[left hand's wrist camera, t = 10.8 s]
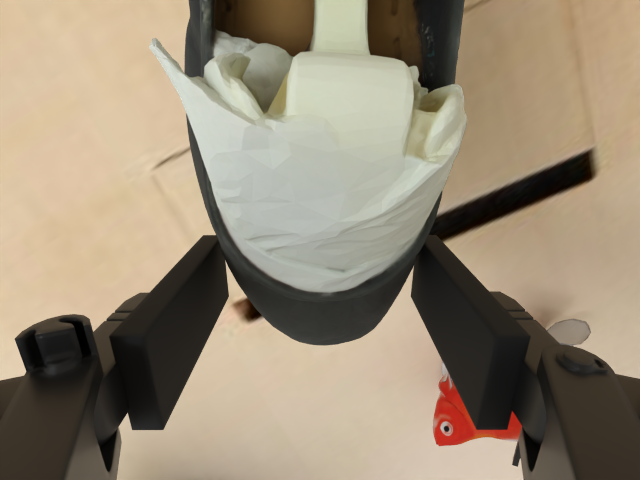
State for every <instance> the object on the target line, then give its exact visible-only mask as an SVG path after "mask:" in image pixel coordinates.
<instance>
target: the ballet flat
mask: <svg viewBox="0 0 640 480" xmlns="http://www.w3.org/2000/svg"><path fill="white" fill-rule="evenodd" d="M189 6H190V19H189V23H188V27H187V33H186V44H185V73H184V72H183V71H182V69H181V67H180V66H179V64H178V62H176V61H175V60H174V59H173V58H172V57H171V56H170V55H169V54H168V53H167V51H166V50H165V49H164V48H163V47H162V45H161V43H160V42H159V41H158V40H157V39H156V38H154V39H153V40H152V42H151V44H150V46H149V48H150V49H151V51H152V52H153V53H154V55H155V56H156V57H157V59H158V60H159V62H160V63H161V65H162V67H163V68H164V70H165V72H166V74H167V75H168V77H169V79H170V80H171V82H172V84H173V85H174V87H175V89H176V90H177V92H178V94H179V96H180V98H181V100H182V103H183V105H184V108H185V111H186V117H187V126H188V134H189V141H190V147H191V152H192V157H193V161H194V166H195V170H196V175H197V178H198V182H199V186H200V189H201V193H202V196H203V200H204V203H205V207H206V210H207V213H208V215H209V218H210V221H211V224H212V227H213V229H214V231H215V233H216V235H217V238H218V240H219V243H220V246H221V250H222V253H223V256H224V258H225V260H226V262H227V265H228V267H229V269H230V270H231V272H232V274H233V276H234V277H235V279H236V281H237V283H238V284H239V286H240V287H241V289H242V290H243V291H244V293H245V294H246V296H247V297H248V299H249V300H250V301H251V303H252V304H253V305H254V307H255V308H256V309H257V310H258V311H259V312H260V313H261V315H262V316H263V317H264V318H265V319H266V320H267V321H268V322H269V323H270V324H271V325H272V326H273V327H275V328H276V329H278V330H279V331H281V332H282V333H284V334H286V335H287V336H289V337H290V338H292V339H294V340H296V341H299V342H302V343H307V344H312V345H334V344H340V343H344V342H349V341H352V340H356V339H359V338H361V337H363V336H364V335H366V334H367V333H369V332H370V331H372V330H373V329H374V328H375V327H376V326H377V325H378V323H379V322H380V321H381V320H382V318H383V317H384V316H385V315H386V313H387V312H388V310H389V308H390V307H391V305H392V304H393V302H394V301H395V299H396V297H397V296H398V294H399V292H400V291H401V289H402V287H403V285H404V283H405V282H406V279H407V278H408V276H409V274H410V272H411V270H412V268H413V266H414V264H415V261H416V258H417V255H418V253H419V251H420V250H421V248H422V246H423V245H424V243H425V241H426V239H427V236H428V234H429V232H430V230H431V228H432V225H433V223H434V221H435V218H436V215H437V211H438V208H439V204H440V201H441V196H442V191H443V188H444V186H445V183H446V181H447V178H448V175H449V173H450V170H451V167H452V165H453V162H454V160H455V158H456V156H457V154H458V152H459V149H460V145H461V142H462V138H463V135H464V131H465V128H466V124H467V115H466V113H465V110H464V95H463V91H462V88H461V86H459V85H458V84H455V73H456V64H457V58H458V49H459V43H460V33H461V25H462V17H463V8H464V0H189Z"/></svg>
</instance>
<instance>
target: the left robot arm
mask: <svg viewBox="0 0 640 480" xmlns="http://www.w3.org/2000/svg"><path fill="white" fill-rule="evenodd" d="M228 297H229V293H228V283H227V274H226V264H225V258H224V256H223V253H222V250H221V246H220V243H219V240H218V238H217V235H203V236H202V237H201V238H200V239H199V241H198V242H197V243H196V244H195V245H194V246H193V247H192V248H191V249H190V250H189V251H188V252H187V253H186V254H185V256H184V257H183V258H182V259H181V260H180V261H179V262H178V263H177V264H176V265H175V266H174V267H173V268H172V269H171V270H170V272H169V273H168V274H167V275H166V276H165V277H164V278H163V279H162V280H161V281H160V282H159V283H158V284H157V285H156V286H155V288H154V289H153V290H152V291H151V292H150V293H139V294H137V295H135V296H134V297H132V298H130V299H128V300H126V301H125V302H124V303H123V304H122V305H121V306H120V307H119V308H118V309H117V310H116V311H115V313H112V314H111V315H110V316H109V317H108V318H107V321H104V322H103V323H102V324H101V325H100V326H99V327H98V328H97V329H96V330H95V331H94V332H93V330H92V327H91V323H90V319H89V318H87V317H85V316H84V315H76V314H72V315H62V316H58V317H54V318H50V319H47V320H44V321H42V322H39V323H37V324H34V325H32V326H31V327H29V328H27V329H26V330H24V331H22V332H21V333H20V334H19V335H18V336H17V337H16V338H15V341H16V344H17V346H18V349H19V352H20V355H21V357H22V360H23V363H24V366H25V368H26V371H27V372H26V374H25V375H24V376H21V377H16V378H11V379H6V380H1V381H0V480H116V479H117V471H118V464H119V457H120V449H121V435H120V431H119V425H120V424H121V422H122V420H123V419H124V417H125V416H126V414H127V413H128V415H129V419H130V423H131V427H132V430H163V429H164V427H165V425H166V423H167V421H168V419H169V417H170V415H171V413H172V411H173V409H174V407H175V405H176V403H177V401H178V399H179V397H180V395H181V393H182V391H183V389H184V387H185V385H186V382H187V380H188V378H189V376H190V374H191V372H192V370H193V368H194V366H195V364H196V362H197V360H198V358H199V356H200V354H201V352H202V350H203V348H204V346H205V344H206V342H207V340H208V338H209V336H210V334H211V332H212V330H213V327H214V325H215V323H216V321H217V319H218V317H219V315H220V313H221V311H222V309H223V307H224V305H225V303H226V301H227V299H228ZM411 297H412V299H413V302H414V304H415V306H416V308H417V310H418V312H419V314H420V316H421V318H422V320H423V322H424V324H425V326H426V328H427V330H428V332H429V334H430V336H431V338H432V340H433V342H434V344H435V346H436V348H437V350H438V352H439V355H440V357H441V359H442V361H443V363H444V365H445V367H446V369H447V371H448V373H449V375H450V377H451V379H452V381H453V383H454V385H455V387H456V389H457V391H458V393H459V395H460V397H461V399H462V401H463V403H464V405H465V407H466V410H467V412H468V414H469V416H470V418H471V420H472V422H473V424H474V426H475V428H476V430H507V429H508V425H509V421H510V417H511V413H512V411H513V413H514V414H515V416H516V417H517V419H518V421H519V422H520V424H521V425H522V427H521V431H520V435H519V439H518V442H517V446H516V450H515V454H514V457H513V464H512V465H514V466H517V467H518V463H519V460H520V458H521V463H522V470H523V478H524V480H640V379H637V378H632V377H627V376H622V375H617V374H615V373H614V371H613V370H612V369H611V367H610V366H609V365H608V364H607V363H606V362H605V361H603V360H602V359H600V358H599V357H597V356H596V355H594V354H592V353H590V352H588V351H585V350H583V349H580V348H577V347H573V346H570V345H562V344H560V343H559V342H558V341H557V340H556V339H555V338H554V337H553V336H552V335H551V334H549V333H548V332H547V331H546V330H545V329H544V328H543V327H542V326H541V325H540V324H539V323H538V322H537V321H536V320H533V317H532V316H531V315H530V314H529V313H528V312H525V309H524V308H523V307H522V306H521V305H520V304H519V303H517V302H516V301H515V300H514V299H512V298H510V297H509V296H507V295H505V294H503V293H501V292H489V291H488V290H487V289H486V288H485V287H484V286H483V285H482V284H481V283H480V281H479V280H478V279H477V278H476V277H475V276H474V275H473V274H472V273H471V272H470V271H469V270H468V269H467V268H466V266H465V265H464V264H463V263H462V262H461V261H460V260H459V259H458V258H457V257H456V256H455V255H454V254H453V253H452V252H451V250H450V249H449V248H448V247H447V246H446V245H445V244H444V243H443V242H442V241H441V240H440V239H439V238H438V237H437V236H436V235H428V236H427V239H426V241H425V243H424V245H423V246H422V248H421V250H420V251H419V253H418V255H417V258H416V261H415V264H414V271H413V281H412V291H411Z"/></svg>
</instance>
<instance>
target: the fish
mask: <svg viewBox="0 0 640 480" xmlns="http://www.w3.org/2000/svg"><path fill="white" fill-rule="evenodd" d="M547 332H548V333H549V334H551V335H552V336H553V337H554V338H555V339H556V340H557V341H558V342H559V343H560V344H562V345H570V346H573V345H577V344H582V343H583V342H584V341H585V340H586V339H587V338H588V336H589V335H590V333H591V331H590V328H589V325H588V324H587V322H585V321H581V320H577V319H569V320H564V321H561V322H557V323H555V324H554V325H553V326H552V327H550V328H549V329H548V330H547ZM442 374H443V378H442V379H441V380H440V382H439V389H440V391H441V393H440V395H439V398H438V400H437V404H436V409H435V414H434V419H433V433H434V437H435V441H436V444H438V445H439V446H444V445H458V444H462V443H464V442H467V441H469V440H472V439H477V438H482V437H493V438H496V439H502V440H508V441H517V442H518V439H519V435H520V431H521V427H522V425H521V424H520V422H519V421H518V419H517V417H516V416H515V414H514V413H513V411H512V413H511V417H510V421H509V425H508V429H507V430H476V428H475V426H474V424H473V422H472V420H471V418H470V416H469V414H468V412H467V410H466V407H465V405H464V403H463V401H462V399H461V397H460V395H459V393H458V391H457V389H456V387H455V385H454V383H453V381H452V379H451V377H450V375H449V373H448V371H447V369H446V367H445V365H444V363H443V364H442Z"/></svg>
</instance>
